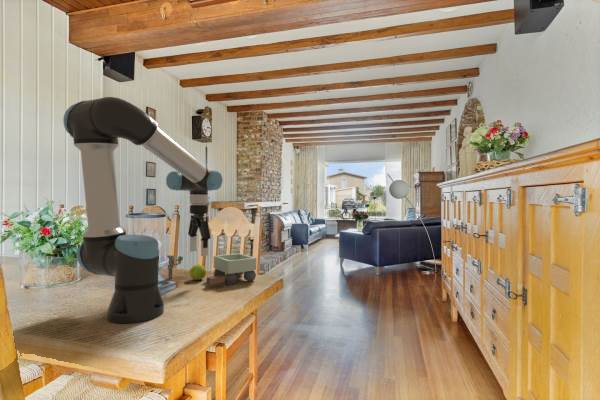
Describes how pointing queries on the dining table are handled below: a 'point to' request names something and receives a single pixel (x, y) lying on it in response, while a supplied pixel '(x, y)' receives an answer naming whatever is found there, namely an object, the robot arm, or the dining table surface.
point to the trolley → (235, 267)
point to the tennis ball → (197, 272)
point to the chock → (215, 281)
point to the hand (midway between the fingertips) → (198, 253)
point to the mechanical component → (171, 263)
